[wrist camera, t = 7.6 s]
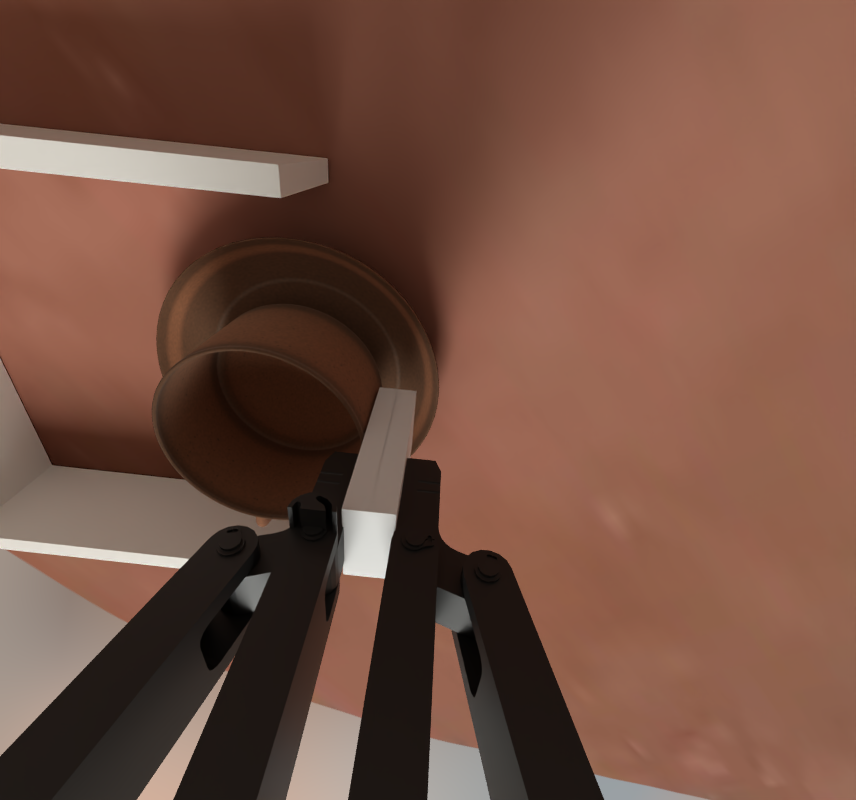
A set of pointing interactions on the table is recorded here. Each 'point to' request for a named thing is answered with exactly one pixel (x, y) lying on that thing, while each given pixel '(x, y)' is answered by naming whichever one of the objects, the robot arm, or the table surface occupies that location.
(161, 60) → the table surface
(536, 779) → the robot arm
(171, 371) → the cup and saucer
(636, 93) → the table surface
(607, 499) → the table surface
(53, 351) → the table surface
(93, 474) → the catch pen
